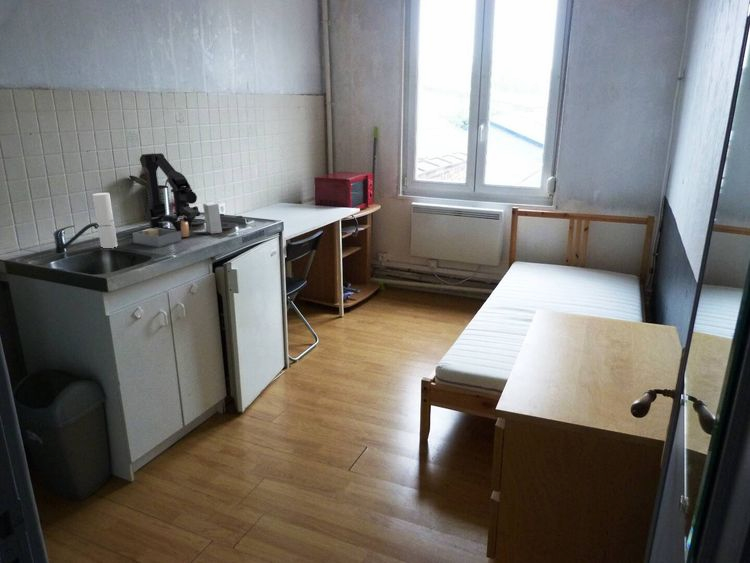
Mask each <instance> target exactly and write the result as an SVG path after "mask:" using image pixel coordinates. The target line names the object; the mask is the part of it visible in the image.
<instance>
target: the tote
mask: <svg viewBox="0 0 750 563" xmlns="http://www.w3.org/2000/svg"><path fill="white" fill-rule="evenodd" d="M152 229H158V234H159V236H151V235H145V234H143V231H142V230H140V231H136V232H133V233H132V241H133V244H136V245H142V246H149V247H152V248H153V247H154V248H163V247H166V246H169V245H173V244H176V243H180V242H182V237H181V232H180V231H177V230H176V229H168V228H163V229H162V228H152Z"/></svg>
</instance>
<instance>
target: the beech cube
mask: <svg viewBox="0 0 750 563" xmlns="http://www.w3.org/2000/svg"><path fill="white" fill-rule="evenodd" d="M141 231H143V234H145V235H151V236H159V234H158V229H150V228H147V229H144V230H143V229H142V230H141Z"/></svg>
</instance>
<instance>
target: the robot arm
mask: <svg viewBox="0 0 750 563" xmlns="http://www.w3.org/2000/svg"><path fill="white" fill-rule="evenodd" d="M139 162H140V165H141V168H142V169H143V170H144V172H145V175H146V181H147V182H146V183H147V188H148V189H147V190H148V197H149V201H148V203H147V206H146V207H147V208H146V212H145V215H144V218H145V221H148V222H149V223H148V224H149V229H152V228H162V229H164V224H163V223H164V222H165V223H166V222H167V223H171V224H172V226H173V227H174V229H175V230H176V231H180V232H181V227H180V223H181V221H182V220H180V219H182V218H183V221H188V225H189V231H190V229H191V225H192V222H193V220H194V219H196V217H200V216H201V212H200V210H199V207H198V206H196V205H195V206H193V207H192V206H191V207H190V204H191V205H193V204H195V203H196V202H197V200H198V196H197V194H196V192H194V190H193V188H191V187H192V186H191V185H190V183H189V182H188V181H189V180H188V179H187V178H186V176H185V175H184V174H183V173H181V172H179V171H177V170H175V168H174V167H173V166H172V164H171V163H170V162H169V161H168V160H167V158H165V155H164V154H163V153H161V152H160V153H159V152H158V153H144V154H141V156H139ZM158 168H159V169H160V170H161V171H162V173H163V174H164V175H165V176H166V177H167V182H168V185H169V186H170V187H171V190H170V192H171V193H172V194H173V202H174V203H172V207H174V211H173V214H170V213H169V214H166V205H165V203H164V202H163V201H162V200H161V197H160V190H159V182H158V175H157V171H158Z"/></svg>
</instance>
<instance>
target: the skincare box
mask: <svg viewBox="0 0 750 563" xmlns="http://www.w3.org/2000/svg"><path fill="white" fill-rule="evenodd" d="M202 207H203V212H204V213H203V214H204V220H205V221H204V222H205V228H206V232H207V233H209V234H218V233H219V234H220V233H222V232H223V229H222V223H221V222H222V221H221V215H220V207H219V203H216V202H214V201H212V202H207V203H203V204H202Z"/></svg>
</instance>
